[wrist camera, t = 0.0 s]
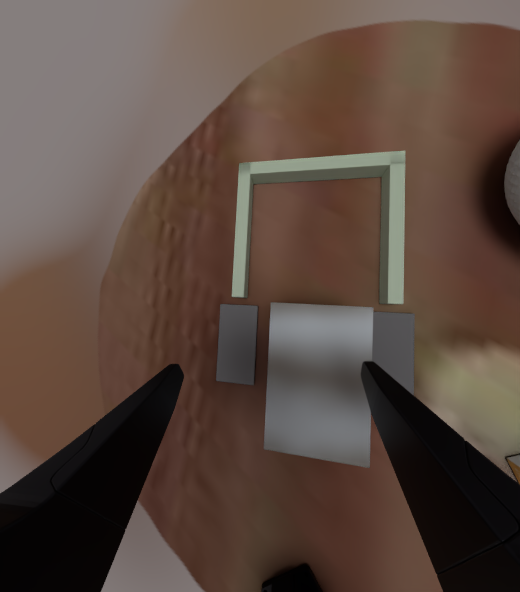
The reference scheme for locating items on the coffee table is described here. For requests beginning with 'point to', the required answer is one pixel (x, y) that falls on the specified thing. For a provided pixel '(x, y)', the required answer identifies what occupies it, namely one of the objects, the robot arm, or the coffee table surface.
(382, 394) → the robot arm
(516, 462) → the small box
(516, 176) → the cereal bowl
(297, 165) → the green u-shaped guide frame
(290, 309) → the block
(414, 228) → the coffee table surface
